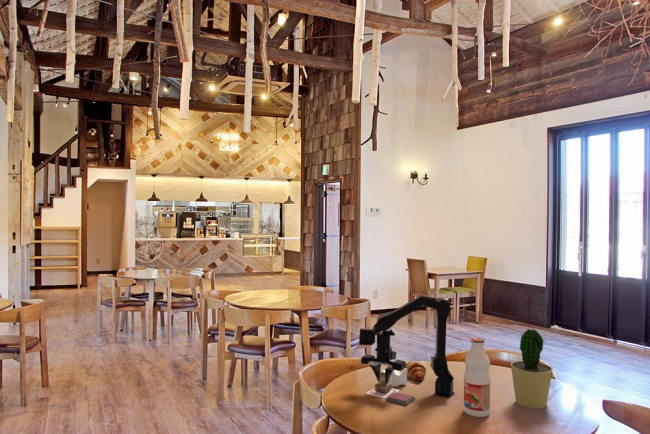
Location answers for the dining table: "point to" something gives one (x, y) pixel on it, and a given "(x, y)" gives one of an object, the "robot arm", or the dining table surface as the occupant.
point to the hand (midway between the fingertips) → (383, 382)
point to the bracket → (398, 377)
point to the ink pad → (400, 398)
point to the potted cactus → (531, 373)
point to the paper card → (380, 394)
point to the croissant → (415, 370)
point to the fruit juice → (477, 380)
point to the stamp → (382, 384)
